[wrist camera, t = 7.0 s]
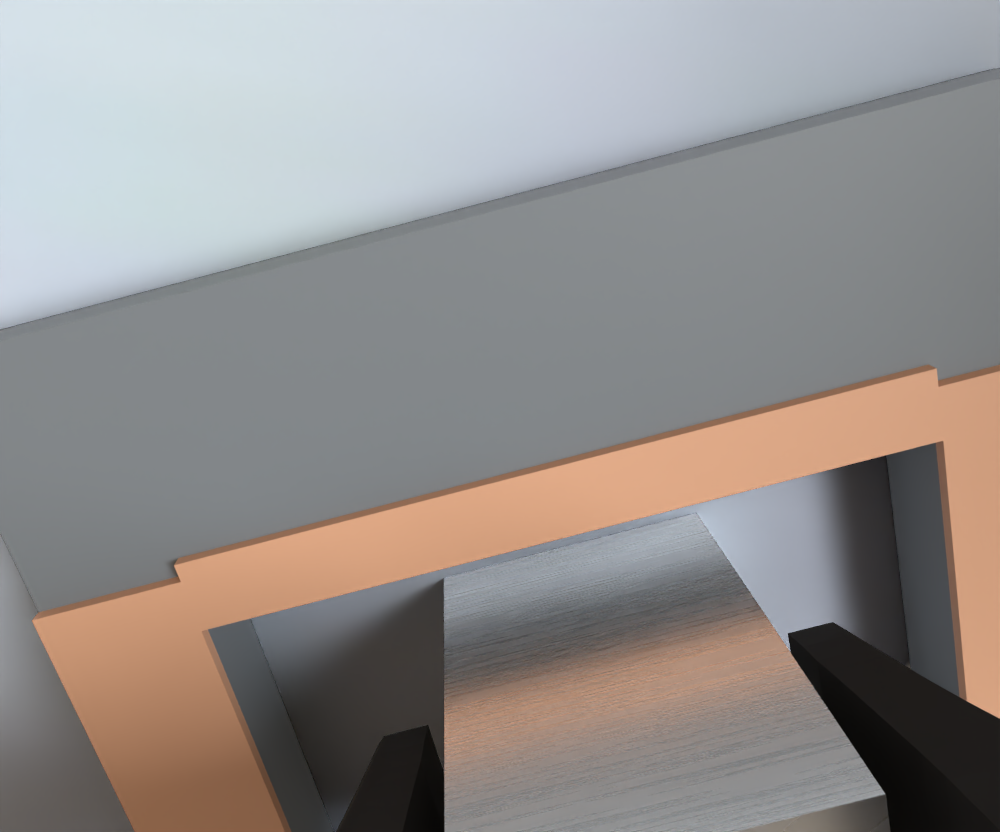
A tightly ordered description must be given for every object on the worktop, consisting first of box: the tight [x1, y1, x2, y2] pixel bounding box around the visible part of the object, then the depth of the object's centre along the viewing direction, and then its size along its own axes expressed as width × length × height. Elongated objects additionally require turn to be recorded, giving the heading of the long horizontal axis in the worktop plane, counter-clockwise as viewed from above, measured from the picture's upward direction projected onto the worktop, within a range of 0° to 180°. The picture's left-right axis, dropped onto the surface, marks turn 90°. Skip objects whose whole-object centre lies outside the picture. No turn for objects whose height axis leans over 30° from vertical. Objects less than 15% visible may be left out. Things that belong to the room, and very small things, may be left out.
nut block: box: [444, 513, 891, 832], centre depth 11 cm, size 4×4×6 cm
